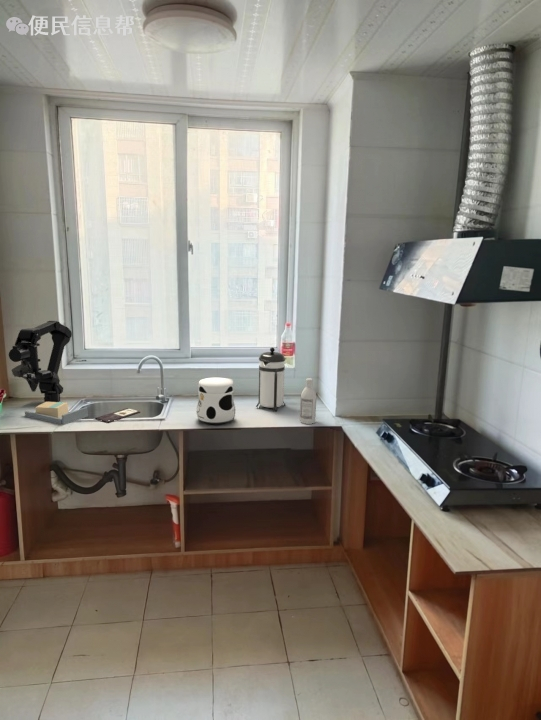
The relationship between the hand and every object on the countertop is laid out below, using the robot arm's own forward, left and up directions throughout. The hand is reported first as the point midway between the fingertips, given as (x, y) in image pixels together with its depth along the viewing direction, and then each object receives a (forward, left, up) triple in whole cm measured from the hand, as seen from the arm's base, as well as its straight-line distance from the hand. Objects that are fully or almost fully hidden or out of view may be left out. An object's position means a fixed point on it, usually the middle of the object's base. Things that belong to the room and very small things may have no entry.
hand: (33, 391), depth 209 cm
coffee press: (-63, +89, -11) cm, 110 cm away
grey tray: (+1, +14, -11) cm, 18 cm away
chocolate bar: (-16, +34, -11) cm, 39 cm away
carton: (0, +11, -9) cm, 14 cm away
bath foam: (-50, +113, -11) cm, 124 cm away
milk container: (-32, +76, -11) cm, 83 cm away
